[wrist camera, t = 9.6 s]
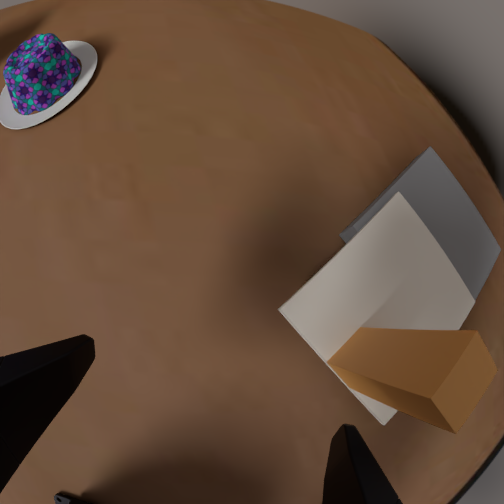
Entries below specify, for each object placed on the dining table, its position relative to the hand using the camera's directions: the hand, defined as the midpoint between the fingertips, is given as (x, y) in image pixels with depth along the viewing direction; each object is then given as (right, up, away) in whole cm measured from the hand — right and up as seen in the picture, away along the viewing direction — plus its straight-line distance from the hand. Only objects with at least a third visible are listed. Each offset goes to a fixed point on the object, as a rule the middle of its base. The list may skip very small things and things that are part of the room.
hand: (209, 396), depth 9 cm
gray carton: (+16, +5, +14) cm, 22 cm away
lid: (+11, +1, +10) cm, 15 cm away
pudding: (-19, +21, +13) cm, 32 cm away
